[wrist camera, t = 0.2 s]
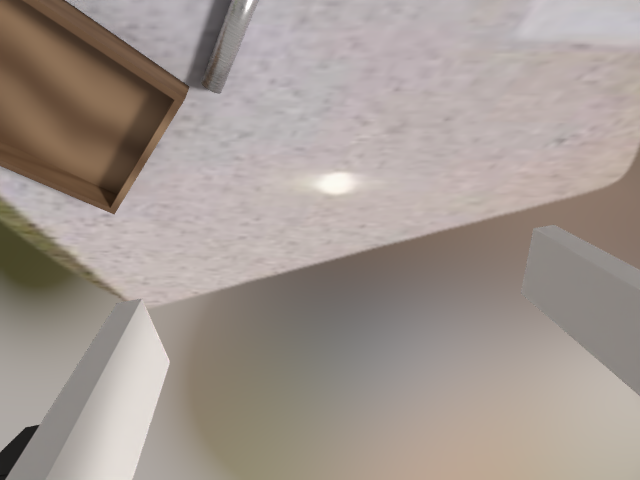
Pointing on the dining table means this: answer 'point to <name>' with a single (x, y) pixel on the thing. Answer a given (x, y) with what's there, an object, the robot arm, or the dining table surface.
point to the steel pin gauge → (228, 43)
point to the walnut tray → (78, 102)
